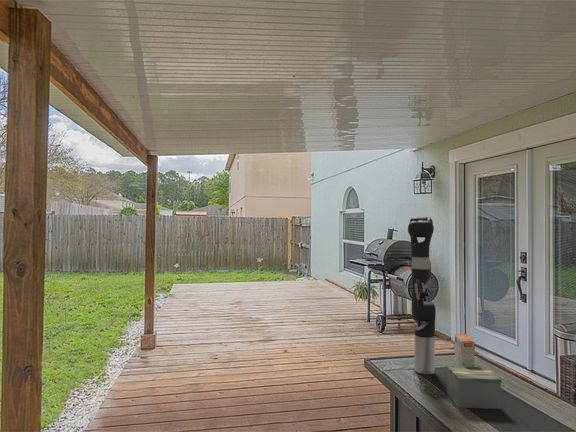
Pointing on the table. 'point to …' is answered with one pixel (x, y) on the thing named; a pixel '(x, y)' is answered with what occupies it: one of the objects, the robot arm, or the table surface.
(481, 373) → the lid
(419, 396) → the table surface
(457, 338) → the cracker box
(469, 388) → the block
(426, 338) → the robot arm
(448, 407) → the table surface
